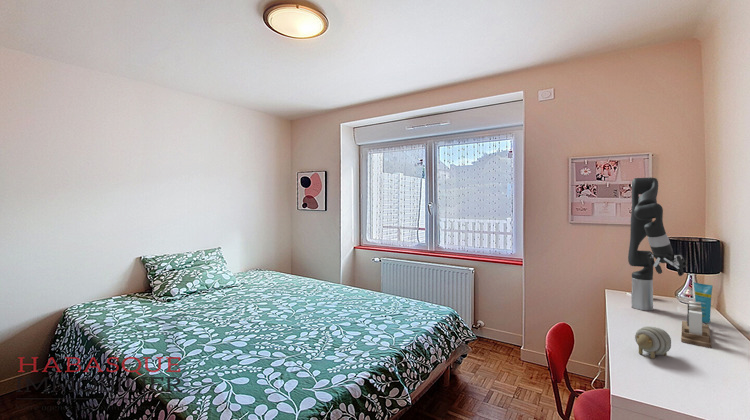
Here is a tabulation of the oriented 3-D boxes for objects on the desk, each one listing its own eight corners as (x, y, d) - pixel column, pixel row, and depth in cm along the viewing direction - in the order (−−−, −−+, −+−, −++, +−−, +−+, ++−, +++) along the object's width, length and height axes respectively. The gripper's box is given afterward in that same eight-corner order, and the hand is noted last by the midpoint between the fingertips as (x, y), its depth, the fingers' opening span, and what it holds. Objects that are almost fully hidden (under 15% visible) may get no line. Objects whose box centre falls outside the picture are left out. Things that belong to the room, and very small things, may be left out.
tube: (691, 319, 162) (690, 282, 161) (696, 318, 164) (695, 281, 163) (710, 324, 155) (710, 285, 155) (715, 322, 157) (715, 284, 156)
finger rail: (681, 341, 137) (680, 313, 137) (682, 323, 157) (681, 298, 157) (711, 347, 131) (711, 318, 130) (708, 328, 150) (708, 302, 150)
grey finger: (687, 336, 139) (687, 311, 139) (687, 334, 141) (687, 309, 141) (702, 339, 136) (701, 313, 135) (702, 337, 138) (701, 312, 137)
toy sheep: (626, 353, 128) (626, 326, 128) (649, 345, 135) (649, 319, 134) (658, 365, 118) (658, 335, 118) (681, 355, 125) (681, 327, 125)
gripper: (682, 240, 146) (693, 272, 147) (648, 240, 160) (658, 269, 160) (672, 247, 144) (683, 279, 144) (638, 245, 157) (649, 275, 158)
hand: (670, 274), depth 152 cm, fingers open, 8 cm apart
